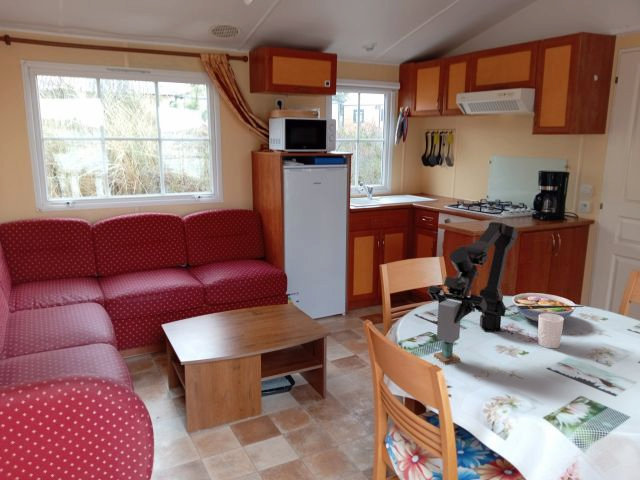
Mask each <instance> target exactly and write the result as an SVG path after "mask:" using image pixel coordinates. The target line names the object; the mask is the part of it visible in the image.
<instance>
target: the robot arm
mask: <svg viewBox="0 0 640 480" xmlns="http://www.w3.org/2000/svg"><path fill="white" fill-rule="evenodd" d="M518 231H519V230H518V229H516V227H515V226H510V225H507V224H506V223H504V222H498V221H491V222H489V223H488V227H487V228H486V229H485V231H483V233H482V234H481V236H479V238H478V239H477V240H476V241H473V242H471V243H469V244H468V245H467V246H463V245H459V248H456V249H454V250H453V251H452V252H450V254H449V258H450V261H451V263H452V265H453V266H454V269H455V270H456V271H457V274H456V276H453V277H451V276H447V275H446V276H445V279H444V283H443V287H447V288H446V290H447V291H449V292H447V291H445V290H444V289H443V288H442V287H441V286H437V285H429V287H428V289H427V293H428V294H429V296H430V298H431V299H432V300H433V301H437V303H438V304H439V303H441V302H443V301H445V300H451V301H455V302H459V303H461V307H460V309H459V311H458V313H457V315H456V318H455V321H454V323H457V322H459V321H460V322H461V320H463V318H464V317H466V316H467V315H469V314H471V313H472V312H473V313H474V312H475V311H478V313H481V315H480V316H479V327H480V328H481V329H482V330H483V331H484V332H503V329H502V327H501V324H502V323H501V322H502V317H505V316H506V312H507V311H506V309H507V308H506V305H505V303H504V301H503V299H504V295H503V293H502V289H501V287H502V282H503V277H504V271H505V267H506V262H507V258H508V253H509V250H510V249H512V247H513V246H515V243H516V240H517V238H518V235H519V232H518ZM492 246H493V247H494V250H493V256H492V260H491V264H490V270H489V273H488V279H487V283H486V286H485V287H484V288H482V289H480V290H479V294H476V293H475V294H474V293H471V294H470V291H473V283H474V281H475V279H476V277H479V275H480V274H479V269H478V267H477V265H478V266H484V265H485V264H486V262H488V260H489V253H488V252H489V250H490V249H491V248H492ZM469 294H470V295H469Z"/></svg>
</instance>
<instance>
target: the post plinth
mask: <svg viewBox="0 0 640 480" xmlns="http://www.w3.org/2000/svg"><path fill="white" fill-rule="evenodd" d="M441 343H442V344H441V351H439V352H434V353H433V357H435V358H436V360H438V359H439V360H438V361H440V362H441V361H442V362H443V363H442V362H441V363H442V364H444V363H446V364H451V363H450V362H452V363H457V362H456V361H458V362H461V357H459V356H458V355H457V354H455V353H454V352H453V349H454V342H453V343H448V342H445V341H441Z"/></svg>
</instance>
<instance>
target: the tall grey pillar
mask: <svg viewBox="0 0 640 480" xmlns="http://www.w3.org/2000/svg"><path fill="white" fill-rule="evenodd" d="M437 305H438V306H437V327H436V328H437V331H436V340H438V341H441V342H448V343H453V344H454V343H455V342H457V340H459V339H460V333H461V320H460V321H459V322H457V323H454V321H455V318H456V315H457V313H458V311H459V309H460V307H461V302H460V301H455V300H451V299H447V300H445V301H443V302H441V303H439V302H438V304H437Z"/></svg>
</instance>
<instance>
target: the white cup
mask: <svg viewBox="0 0 640 480" xmlns="http://www.w3.org/2000/svg"><path fill="white" fill-rule="evenodd" d="M564 320H565V319H564V318H563V317H562V316H559V315H556V314H551V313H543V314H540V315H539V322H537V323H538V324H537V325H538V327H537V330H538V331H537V343H538V345H539V346H541V347H542V348H543V347H544V348H546V349H557V348H560V345H561V340H562V339H561V338H562V334H563V329H564Z"/></svg>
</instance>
